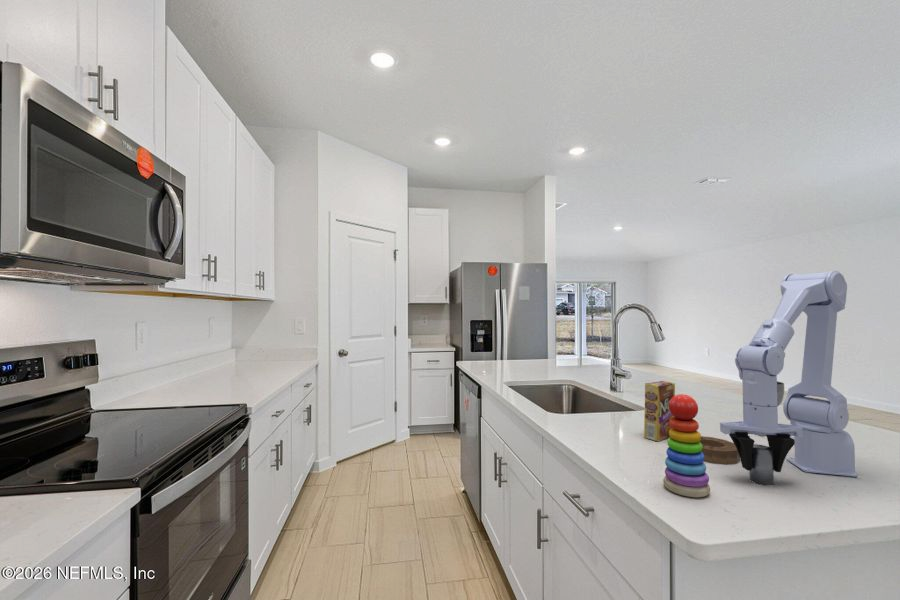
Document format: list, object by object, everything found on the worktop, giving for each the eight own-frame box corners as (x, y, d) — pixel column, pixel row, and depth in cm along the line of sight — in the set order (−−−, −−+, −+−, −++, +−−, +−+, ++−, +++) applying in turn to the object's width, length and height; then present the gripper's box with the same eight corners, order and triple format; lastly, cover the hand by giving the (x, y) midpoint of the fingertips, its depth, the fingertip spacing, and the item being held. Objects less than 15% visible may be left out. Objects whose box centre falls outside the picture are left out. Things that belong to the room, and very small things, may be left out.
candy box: (659, 442, 108) (658, 385, 108) (643, 438, 111) (643, 383, 112) (676, 436, 113) (675, 382, 113) (661, 432, 116) (660, 380, 117)
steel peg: (768, 478, 84) (767, 445, 85) (777, 486, 80) (776, 451, 81) (746, 476, 85) (745, 443, 86) (754, 484, 82) (753, 449, 82)
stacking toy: (667, 478, 85) (666, 389, 85) (712, 488, 80) (711, 393, 80) (659, 491, 78) (657, 395, 79) (707, 503, 73) (705, 400, 74)
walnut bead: (728, 450, 101) (728, 438, 102) (747, 466, 91) (746, 453, 91) (680, 446, 105) (680, 434, 105) (692, 461, 94) (692, 448, 94)
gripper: (785, 400, 86) (786, 464, 86) (712, 398, 88) (713, 460, 88) (809, 408, 79) (811, 477, 79) (729, 405, 81) (731, 473, 81)
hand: (761, 469), depth 83 cm, fingers open, 5 cm apart
